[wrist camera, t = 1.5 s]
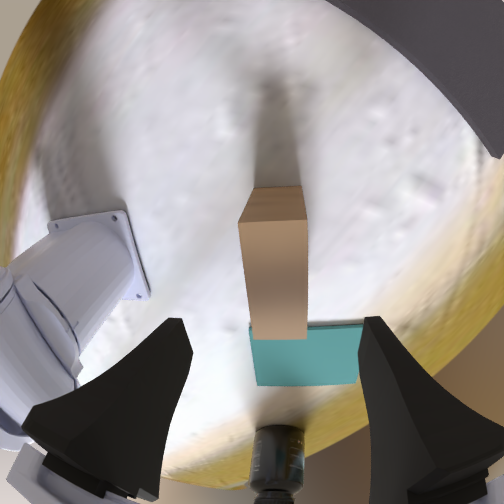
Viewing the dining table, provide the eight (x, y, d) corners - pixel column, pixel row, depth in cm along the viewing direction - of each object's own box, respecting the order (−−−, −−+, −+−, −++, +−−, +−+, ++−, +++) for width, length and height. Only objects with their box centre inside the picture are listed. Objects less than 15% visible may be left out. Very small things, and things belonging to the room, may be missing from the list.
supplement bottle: (272, 445, 34) (264, 514, 24) (245, 428, 32) (231, 506, 22) (313, 436, 32) (311, 512, 21) (289, 419, 30) (282, 506, 19)
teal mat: (257, 382, 26) (257, 385, 26) (249, 327, 23) (248, 330, 22) (355, 380, 25) (355, 383, 25) (368, 323, 21) (369, 326, 21)
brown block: (304, 280, 20) (306, 339, 15) (263, 281, 21) (253, 339, 15) (301, 185, 17) (307, 219, 12) (253, 188, 17) (237, 222, 12)
